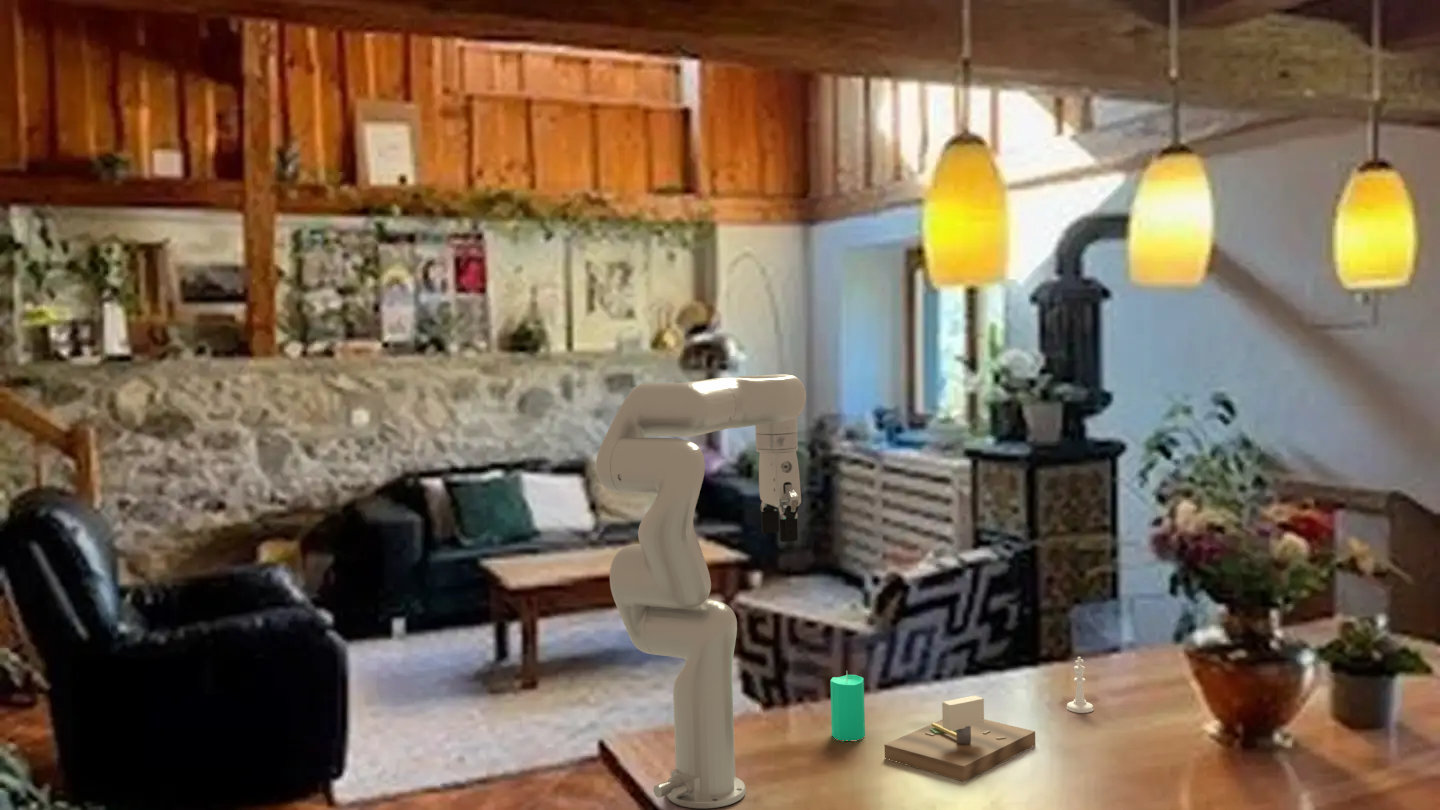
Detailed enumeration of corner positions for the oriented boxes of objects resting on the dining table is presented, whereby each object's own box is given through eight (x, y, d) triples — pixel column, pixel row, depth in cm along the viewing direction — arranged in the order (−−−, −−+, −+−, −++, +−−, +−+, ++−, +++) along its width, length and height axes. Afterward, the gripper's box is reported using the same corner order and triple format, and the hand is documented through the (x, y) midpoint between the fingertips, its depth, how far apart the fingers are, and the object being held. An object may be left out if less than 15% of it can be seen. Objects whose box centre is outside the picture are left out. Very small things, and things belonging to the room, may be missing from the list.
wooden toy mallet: (984, 740, 208) (984, 698, 207) (951, 747, 204) (950, 705, 204) (949, 723, 216) (948, 684, 216) (916, 730, 213) (915, 690, 213)
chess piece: (1060, 707, 232) (1060, 656, 232) (1081, 703, 234) (1080, 652, 234) (1078, 714, 228) (1078, 662, 227) (1099, 710, 230) (1098, 658, 229)
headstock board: (964, 781, 197) (963, 764, 196) (884, 758, 208) (884, 742, 208) (1035, 745, 212) (1035, 729, 212) (957, 726, 223) (957, 711, 223)
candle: (864, 730, 223) (863, 666, 222) (865, 742, 217) (863, 675, 216) (831, 730, 223) (830, 666, 223) (831, 741, 217) (829, 675, 217)
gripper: (813, 445, 212) (816, 542, 213) (780, 438, 229) (782, 528, 230) (773, 448, 210) (775, 546, 211) (742, 440, 227) (744, 531, 228)
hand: (779, 536), depth 221 cm, fingers open, 9 cm apart
